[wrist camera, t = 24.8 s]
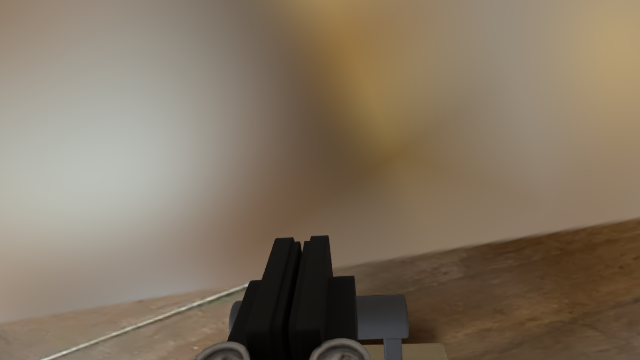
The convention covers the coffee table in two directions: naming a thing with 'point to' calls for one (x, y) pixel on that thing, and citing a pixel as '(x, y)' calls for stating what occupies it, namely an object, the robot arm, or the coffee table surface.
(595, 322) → the coffee table surface
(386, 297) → the drawer
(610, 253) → the coffee table surface
